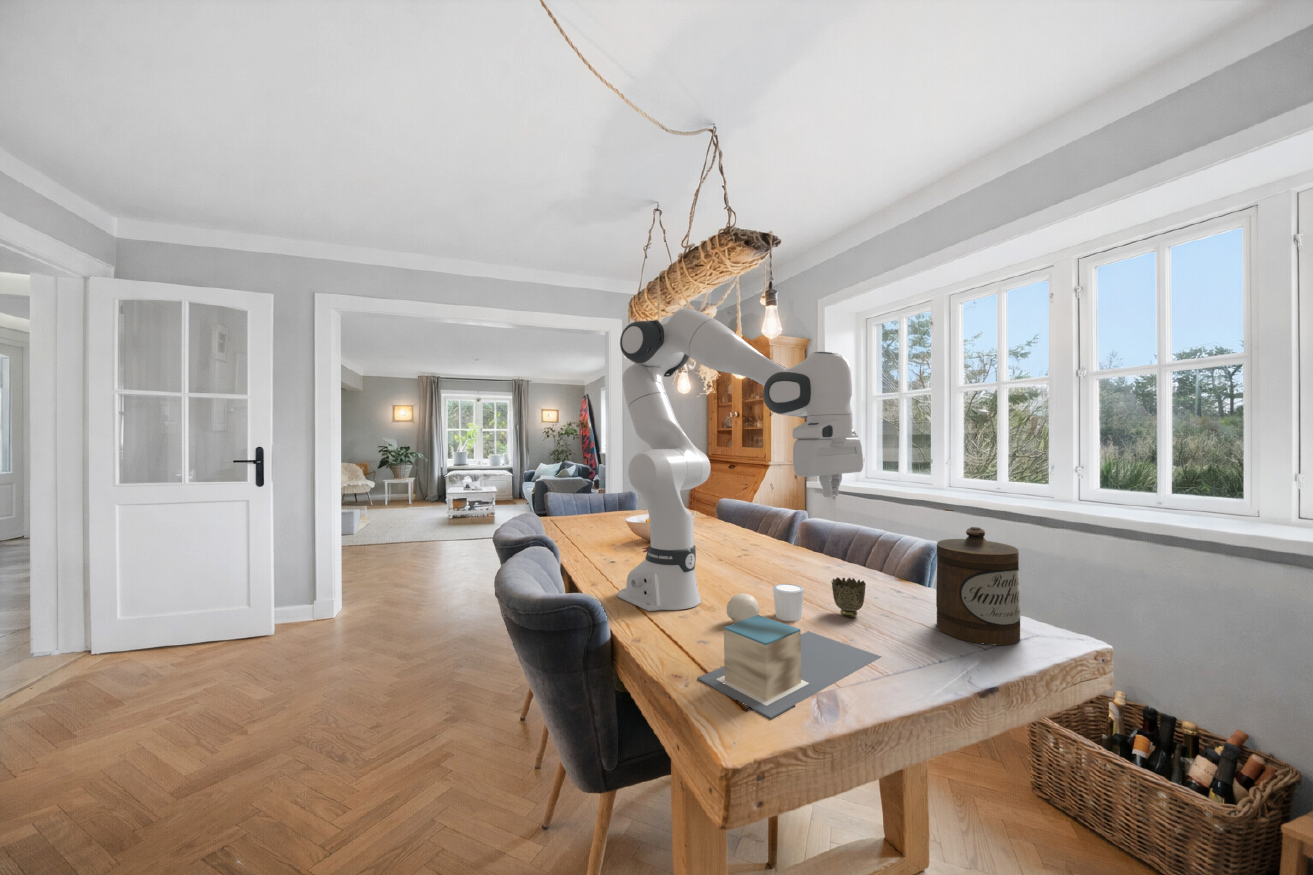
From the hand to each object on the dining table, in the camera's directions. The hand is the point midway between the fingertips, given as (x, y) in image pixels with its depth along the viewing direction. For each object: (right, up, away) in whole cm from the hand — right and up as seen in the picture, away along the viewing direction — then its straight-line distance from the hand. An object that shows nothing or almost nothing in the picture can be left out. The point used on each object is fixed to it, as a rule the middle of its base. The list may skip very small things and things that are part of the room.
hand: (830, 496), depth 104 cm
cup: (+8, -29, +12) cm, 33 cm away
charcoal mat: (-12, -29, -14) cm, 34 cm away
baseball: (-17, -30, +8) cm, 35 cm away
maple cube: (-18, -20, -19) cm, 33 cm away
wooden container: (+31, -29, +2) cm, 43 cm away
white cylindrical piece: (-6, -29, +11) cm, 32 cm away
